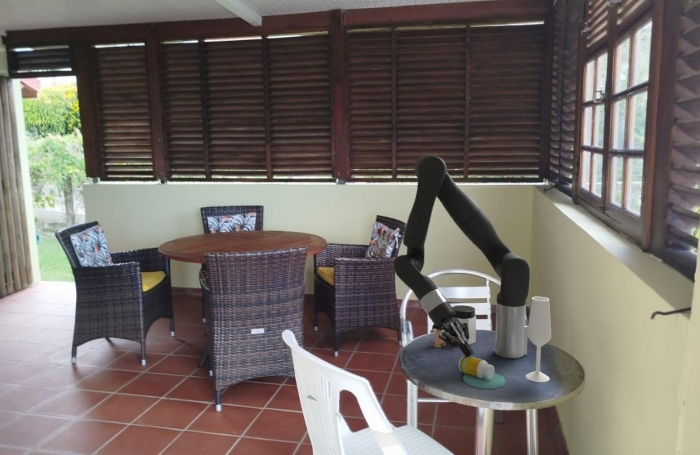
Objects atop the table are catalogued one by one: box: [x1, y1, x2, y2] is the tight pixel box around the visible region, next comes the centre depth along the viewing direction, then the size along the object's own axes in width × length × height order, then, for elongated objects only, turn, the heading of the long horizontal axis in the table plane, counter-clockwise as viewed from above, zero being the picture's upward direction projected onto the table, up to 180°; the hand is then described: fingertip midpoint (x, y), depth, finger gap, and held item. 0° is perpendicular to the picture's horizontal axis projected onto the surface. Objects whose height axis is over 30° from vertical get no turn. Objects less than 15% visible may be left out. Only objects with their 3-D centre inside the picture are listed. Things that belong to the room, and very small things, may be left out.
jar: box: [452, 304, 477, 346], centre depth 192 cm, size 9×8×12 cm
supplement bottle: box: [458, 354, 495, 379], centre depth 161 cm, size 5×5×10 cm
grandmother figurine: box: [430, 323, 447, 348], centre depth 187 cm, size 8×4×13 cm, turn 133°
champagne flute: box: [525, 296, 552, 383], centre depth 160 cm, size 7×7×24 cm
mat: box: [462, 372, 507, 390], centre depth 160 cm, size 12×12×1 cm
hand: (470, 355), depth 162 cm, fingers closed
